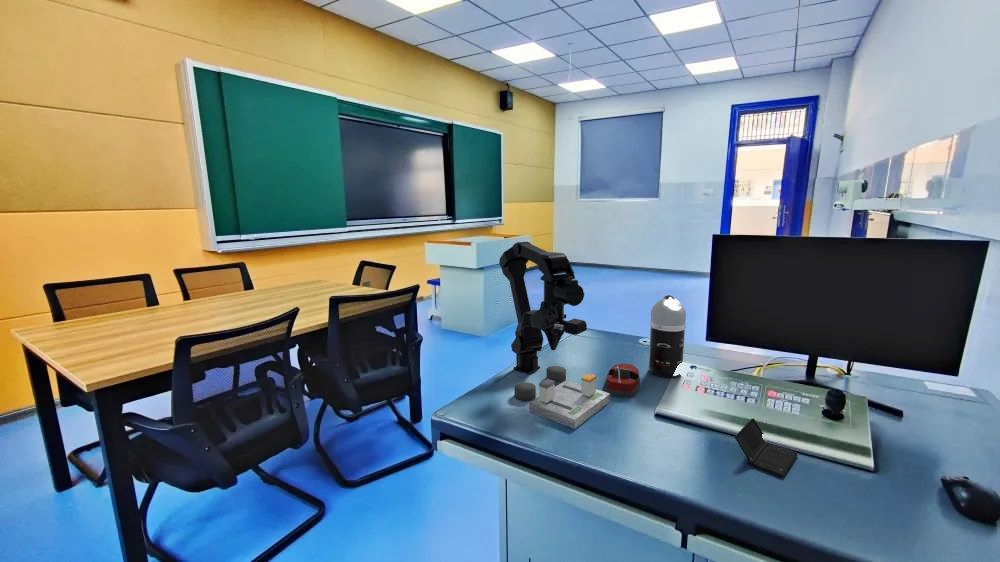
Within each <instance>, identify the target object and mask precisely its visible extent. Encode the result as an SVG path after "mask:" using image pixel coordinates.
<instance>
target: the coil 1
mask: <svg viewBox="0 0 1000 562" xmlns="http://www.w3.org/2000/svg"><path fill="white" fill-rule="evenodd" d="M536 391H537V386H536V384H534V383H531V382H527V381H523V382H519V383H515V385H514V399H515V400H517V401H520V402H530V401H532V400H534V399H536V398H537V393H536Z"/></svg>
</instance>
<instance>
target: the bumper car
mask: <svg viewBox="0 0 1000 562" xmlns="http://www.w3.org/2000/svg"><path fill="white" fill-rule="evenodd" d="M603 387H604V392H607V393H610V397H611V396H612V397H615V398H616V397H617V398H623V399H624V398H625V399H629V398H634V397H635V396H636V395H637V394H638V392H639V390H640V388H641V377H640V371H639V368H638V367H637V366H635V365H633V364H631V363H630V364H629V363H625V362H624V363H623V362H622V363H617V364H615V365H613V366H611V368H610V369H609V370H608V373H607V374H606V377H605V381H604V386H603Z"/></svg>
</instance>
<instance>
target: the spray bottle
mask: <svg viewBox="0 0 1000 562" xmlns="http://www.w3.org/2000/svg"><path fill="white" fill-rule="evenodd" d="M650 310H651V311H650V323H649V327H650V331H649V332H650V333H649V349H648V350H649V354H648V370H649V372H651V373H652V374H653V375H655V376H658V377H661V378H673V377H672V376H673V374H674V372H675V370H676V368H677V366H678V365H679V364H680V363H682V362H684V352H685V351H684V348H685V332H686V328H687V327H686V319H687V318H686V317H687V313H686V310H685V308H684V305H683V304H682V303H680V302H679V300H678V299H676V298H674V296H672V295H669V294H668V295H665V296H664V297H662V298H660V299H659V300H658V301H657V302H655V304H653V306H652V308H651V309H650Z"/></svg>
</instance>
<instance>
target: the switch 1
mask: <svg viewBox="0 0 1000 562" xmlns="http://www.w3.org/2000/svg"><path fill="white" fill-rule="evenodd" d="M555 387H556V383H555V381H553V380H550V379H547V378H546V379H545V380H543V381H540V382H539V383H538V388H539V389H538V390H539V391H538V392H539V396H538V397H539V400H540V401H542V402H545V403H548V402H549V401H551V400H553V399H554V398H555Z"/></svg>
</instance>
